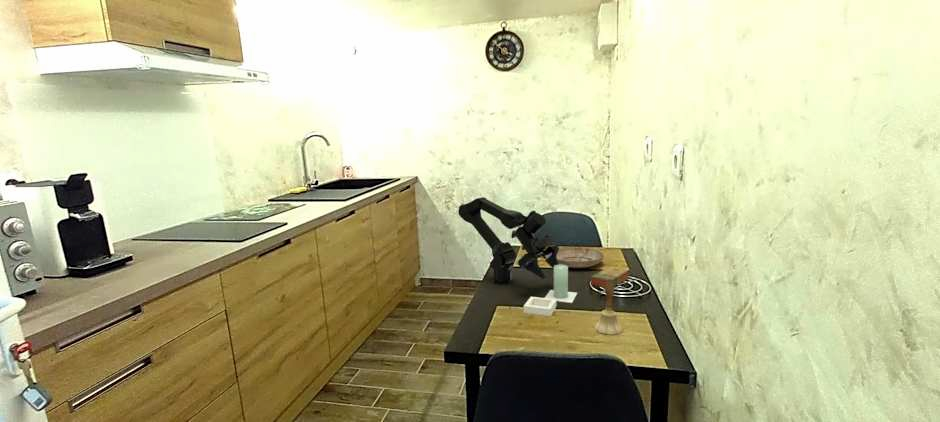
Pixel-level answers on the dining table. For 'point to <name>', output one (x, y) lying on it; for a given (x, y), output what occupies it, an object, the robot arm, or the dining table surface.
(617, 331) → the hand bell
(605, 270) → the carton
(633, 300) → the dining table surface
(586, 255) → the ceramic bowl
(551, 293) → the cream panel
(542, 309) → the shallow square tray
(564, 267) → the light green piece
